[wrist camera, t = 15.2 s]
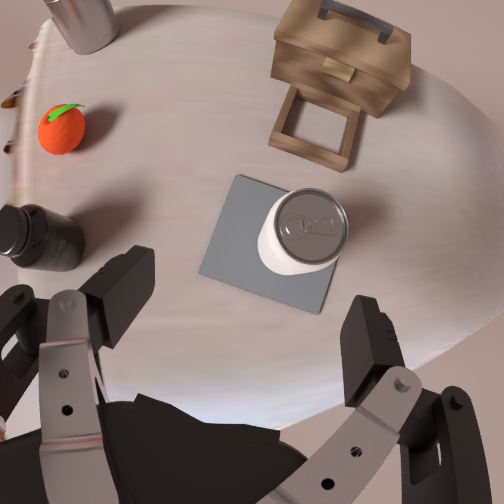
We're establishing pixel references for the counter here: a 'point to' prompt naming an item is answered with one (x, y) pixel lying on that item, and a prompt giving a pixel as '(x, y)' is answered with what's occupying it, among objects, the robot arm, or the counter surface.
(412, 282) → the counter surface
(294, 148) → the toolbox
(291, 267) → the can
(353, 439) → the robot arm
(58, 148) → the clementine
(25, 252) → the supplement bottle
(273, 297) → the mat
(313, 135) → the counter surface
